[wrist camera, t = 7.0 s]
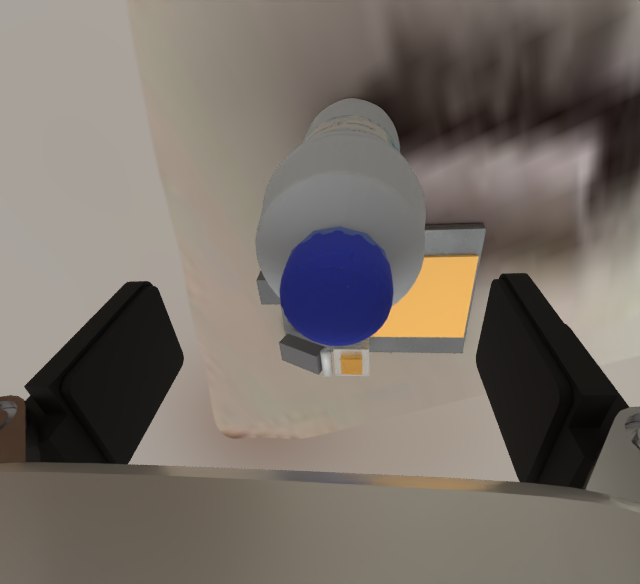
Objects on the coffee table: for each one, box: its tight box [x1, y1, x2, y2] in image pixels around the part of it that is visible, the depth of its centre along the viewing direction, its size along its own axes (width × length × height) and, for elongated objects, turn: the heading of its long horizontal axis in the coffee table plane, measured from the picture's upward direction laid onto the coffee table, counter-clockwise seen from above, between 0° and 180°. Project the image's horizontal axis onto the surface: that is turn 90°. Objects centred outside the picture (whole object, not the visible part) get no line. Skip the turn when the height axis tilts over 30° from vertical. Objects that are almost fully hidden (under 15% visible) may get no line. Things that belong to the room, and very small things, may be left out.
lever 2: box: [279, 334, 333, 377], centre depth 33 cm, size 5×3×1 cm, turn 94°
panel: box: [281, 223, 486, 376], centre depth 31 cm, size 17×13×6 cm
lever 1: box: [256, 271, 281, 304], centre depth 28 cm, size 5×3×1 cm, turn 95°
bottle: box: [256, 98, 426, 346], centre depth 18 cm, size 7×7×20 cm
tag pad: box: [370, 255, 479, 338], centre depth 32 cm, size 8×8×1 cm
